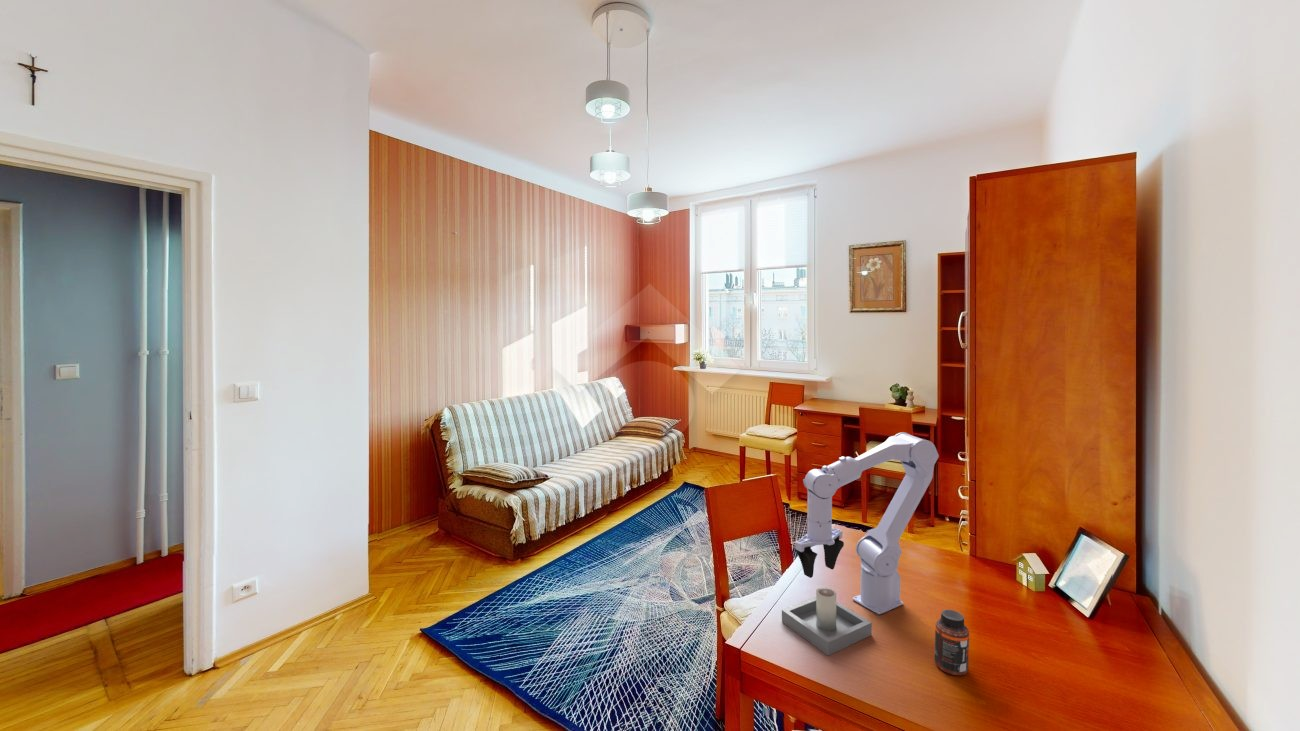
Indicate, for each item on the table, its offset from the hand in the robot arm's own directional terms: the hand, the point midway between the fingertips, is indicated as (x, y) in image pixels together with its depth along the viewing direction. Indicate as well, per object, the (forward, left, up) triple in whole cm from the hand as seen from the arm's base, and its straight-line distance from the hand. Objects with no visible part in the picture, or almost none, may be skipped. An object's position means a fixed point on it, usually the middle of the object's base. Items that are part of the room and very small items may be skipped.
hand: (819, 571), depth 123 cm
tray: (+5, +7, -9) cm, 13 cm away
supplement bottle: (-7, +29, -10) cm, 31 cm away
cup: (+5, +7, -8) cm, 12 cm away
